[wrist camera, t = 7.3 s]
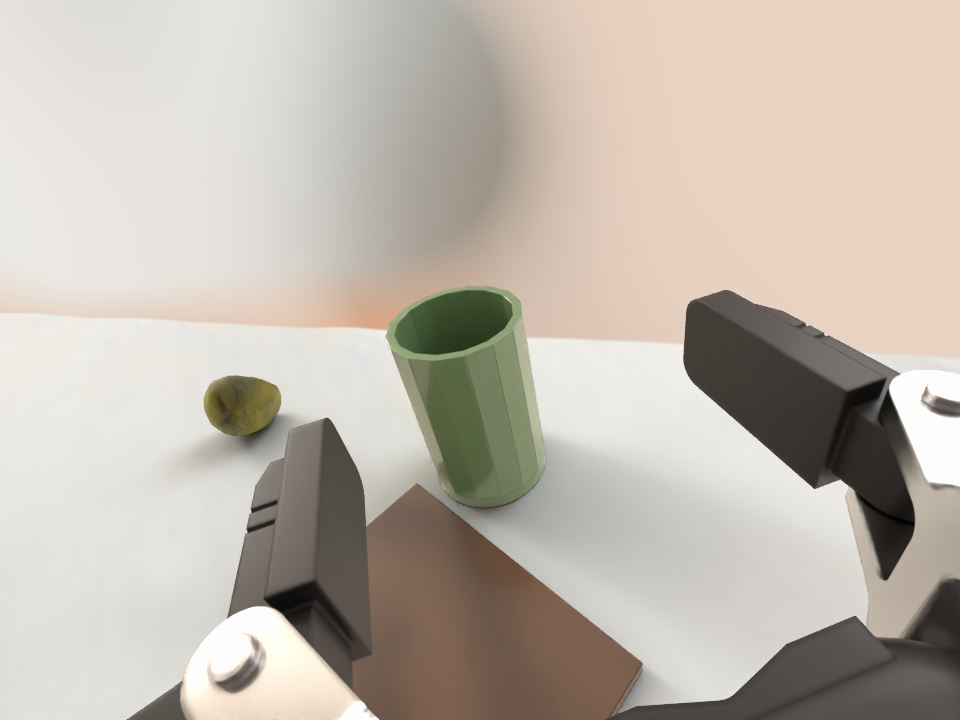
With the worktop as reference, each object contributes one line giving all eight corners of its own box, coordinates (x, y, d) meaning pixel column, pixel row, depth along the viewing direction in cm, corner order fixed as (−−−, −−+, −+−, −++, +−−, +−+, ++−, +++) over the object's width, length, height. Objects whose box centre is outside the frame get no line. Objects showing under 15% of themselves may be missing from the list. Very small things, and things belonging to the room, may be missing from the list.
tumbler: (492, 529, 23) (447, 378, 18) (416, 471, 28) (360, 334, 22) (568, 451, 26) (550, 302, 21) (490, 410, 31) (457, 277, 25)
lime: (219, 434, 35) (181, 384, 32) (277, 399, 37) (247, 349, 34) (239, 460, 32) (200, 408, 29) (300, 420, 34) (270, 367, 31)
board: (236, 1343, 9) (221, 1356, 9) (120, 749, 18) (110, 744, 18) (643, 669, 17) (643, 663, 17) (419, 489, 26) (417, 482, 26)
